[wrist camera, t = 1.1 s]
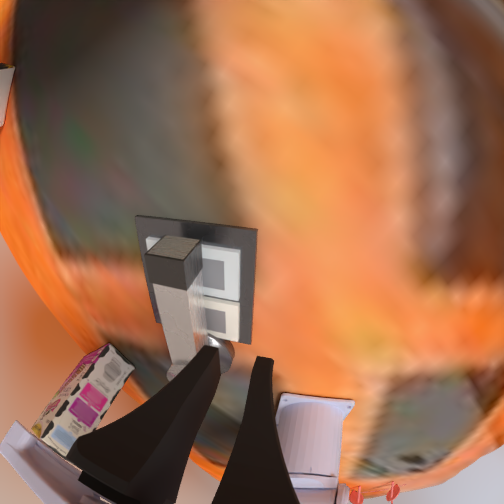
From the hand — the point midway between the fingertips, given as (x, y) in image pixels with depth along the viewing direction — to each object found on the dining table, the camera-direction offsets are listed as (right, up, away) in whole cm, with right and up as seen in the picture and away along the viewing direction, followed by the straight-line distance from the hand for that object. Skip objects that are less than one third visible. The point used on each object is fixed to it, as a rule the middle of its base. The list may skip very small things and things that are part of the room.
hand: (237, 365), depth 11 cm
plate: (-4, +2, +9) cm, 10 cm away
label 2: (-4, 0, +11) cm, 11 cm away
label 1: (-4, +4, +8) cm, 10 cm away
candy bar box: (-20, -10, +21) cm, 31 cm away
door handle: (-4, 0, +9) cm, 10 cm away
